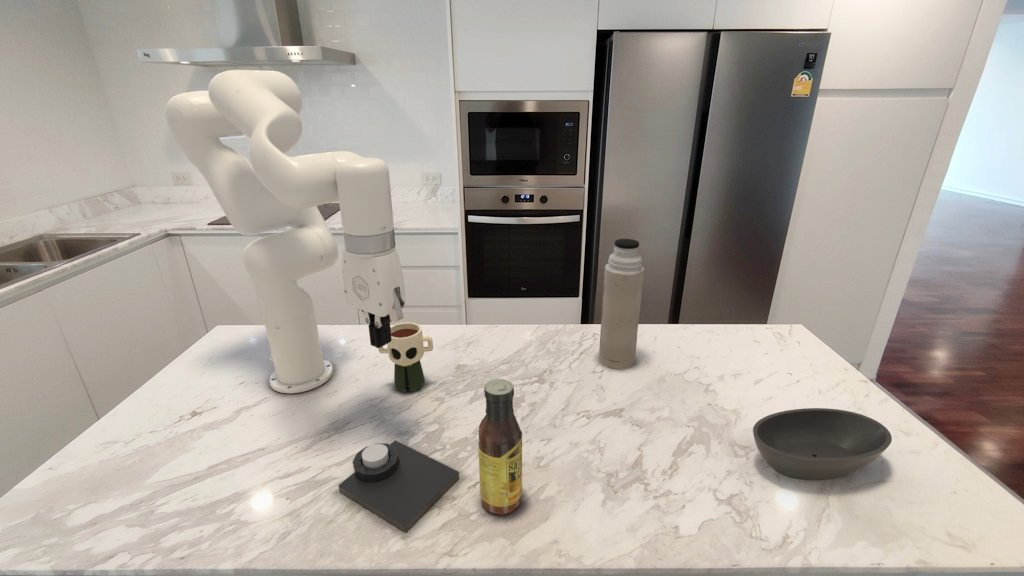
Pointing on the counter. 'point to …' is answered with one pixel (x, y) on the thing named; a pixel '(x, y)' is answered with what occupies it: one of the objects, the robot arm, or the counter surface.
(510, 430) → the sauce bottle
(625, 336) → the thermos bottle
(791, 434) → the bowl
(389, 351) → the character mug
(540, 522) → the counter surface
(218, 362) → the counter surface
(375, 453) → the button
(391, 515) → the scale
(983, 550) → the counter surface
